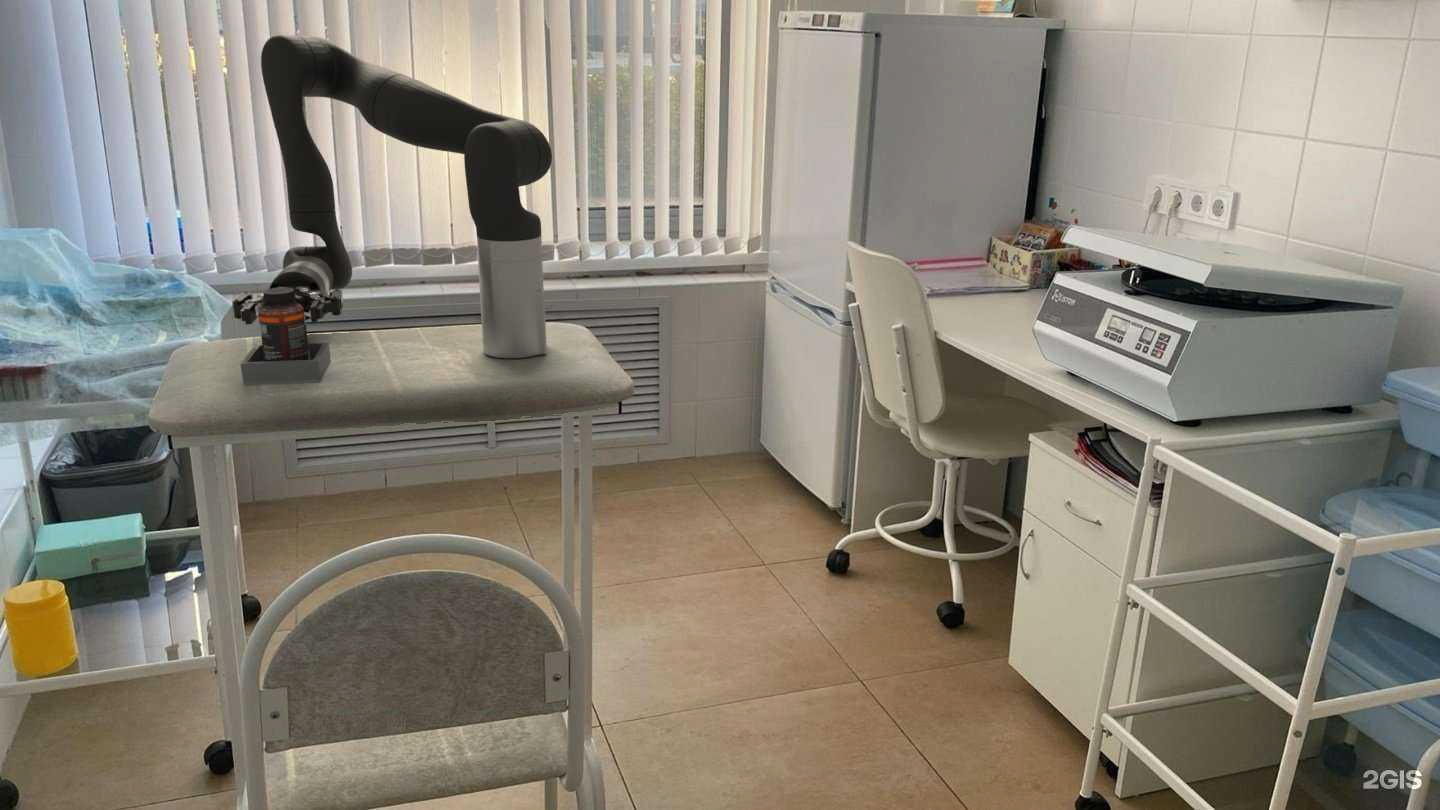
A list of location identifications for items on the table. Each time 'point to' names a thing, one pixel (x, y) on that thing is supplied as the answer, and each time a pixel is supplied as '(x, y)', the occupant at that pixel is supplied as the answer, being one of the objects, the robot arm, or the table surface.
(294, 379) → the grey storage bin
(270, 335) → the supplement bottle
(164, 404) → the table surface
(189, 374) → the table surface
